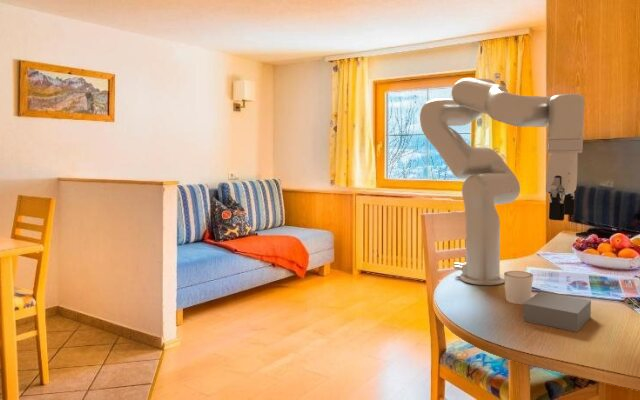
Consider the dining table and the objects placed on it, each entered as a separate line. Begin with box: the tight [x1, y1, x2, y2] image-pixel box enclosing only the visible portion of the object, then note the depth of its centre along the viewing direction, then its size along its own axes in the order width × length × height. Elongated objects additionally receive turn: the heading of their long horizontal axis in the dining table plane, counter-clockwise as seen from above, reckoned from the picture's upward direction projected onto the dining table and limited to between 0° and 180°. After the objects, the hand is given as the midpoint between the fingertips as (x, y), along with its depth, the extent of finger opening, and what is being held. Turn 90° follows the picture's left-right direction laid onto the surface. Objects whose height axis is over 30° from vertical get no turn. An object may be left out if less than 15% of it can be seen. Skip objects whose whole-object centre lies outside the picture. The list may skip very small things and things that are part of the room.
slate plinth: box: [522, 291, 592, 333], centre depth 107 cm, size 11×11×4 cm
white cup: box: [503, 270, 534, 305], centre depth 120 cm, size 7×7×7 cm
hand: (561, 217), depth 115 cm, fingers open, 9 cm apart
